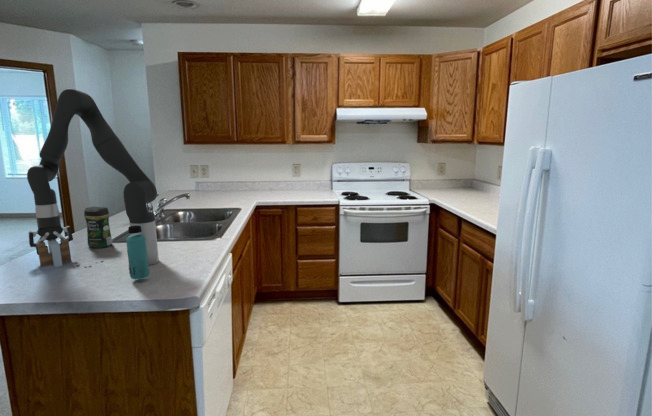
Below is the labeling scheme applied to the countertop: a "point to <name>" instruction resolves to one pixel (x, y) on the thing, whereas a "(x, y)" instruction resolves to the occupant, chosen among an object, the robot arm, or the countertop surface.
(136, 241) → the beverage bottle
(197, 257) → the countertop surface
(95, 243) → the coffee jar
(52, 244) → the pale grey upright slab
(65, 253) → the notched wooden block
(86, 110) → the robot arm
